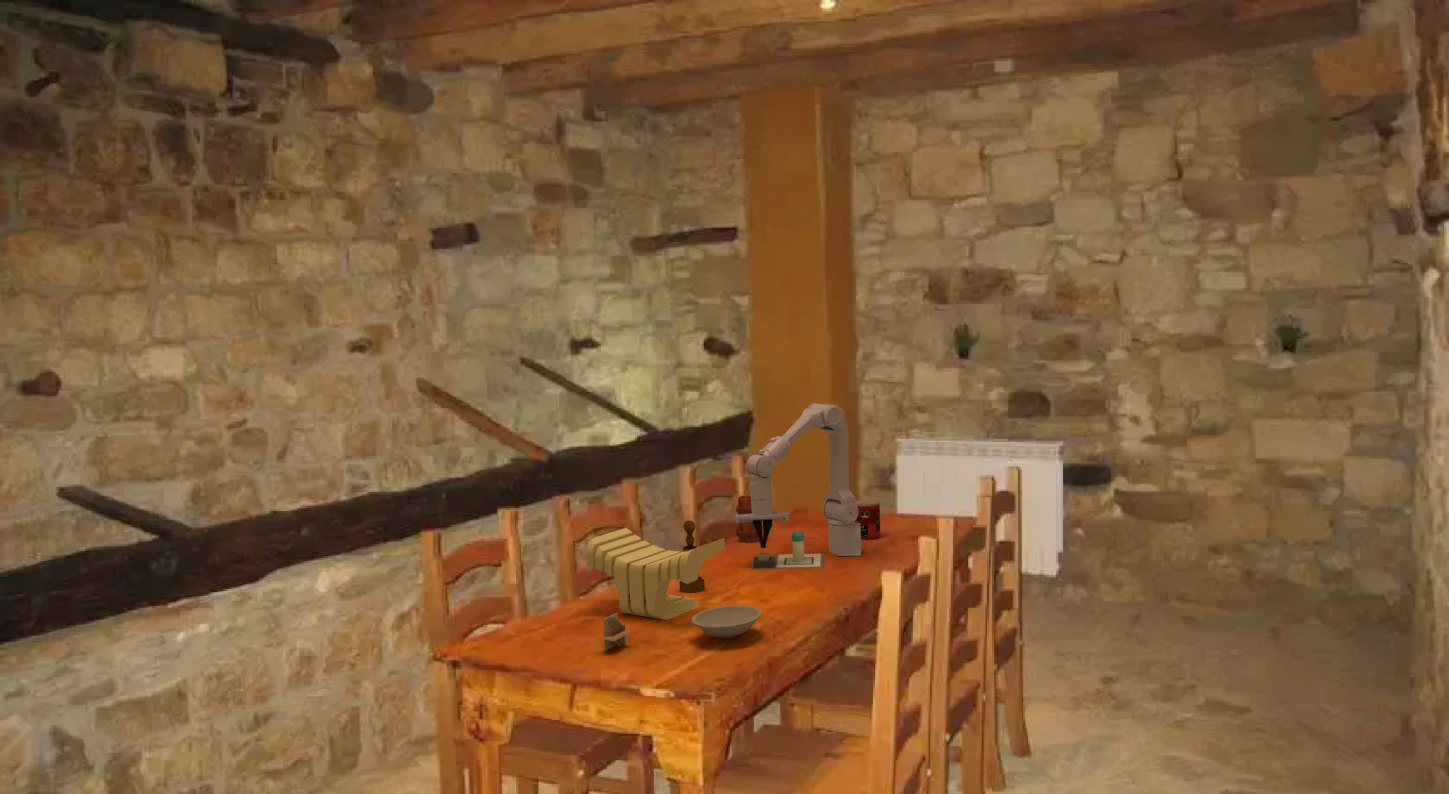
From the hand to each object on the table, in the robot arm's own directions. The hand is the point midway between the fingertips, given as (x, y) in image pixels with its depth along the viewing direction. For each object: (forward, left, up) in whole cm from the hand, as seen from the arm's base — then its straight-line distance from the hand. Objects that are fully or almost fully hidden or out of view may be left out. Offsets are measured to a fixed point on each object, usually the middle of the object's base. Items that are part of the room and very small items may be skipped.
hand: (763, 547), depth 316 cm
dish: (+4, +63, -6) cm, 63 cm away
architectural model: (+29, +69, -7) cm, 75 cm away
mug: (+6, -36, -6) cm, 37 cm away
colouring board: (-7, -5, -6) cm, 10 cm away
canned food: (-30, -37, -6) cm, 48 cm away
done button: (0, 0, -4) cm, 4 cm away
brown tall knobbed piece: (+17, +21, -6) cm, 28 cm away
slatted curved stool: (+23, +41, -6) cm, 48 cm away
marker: (-10, -4, -5) cm, 11 cm away
